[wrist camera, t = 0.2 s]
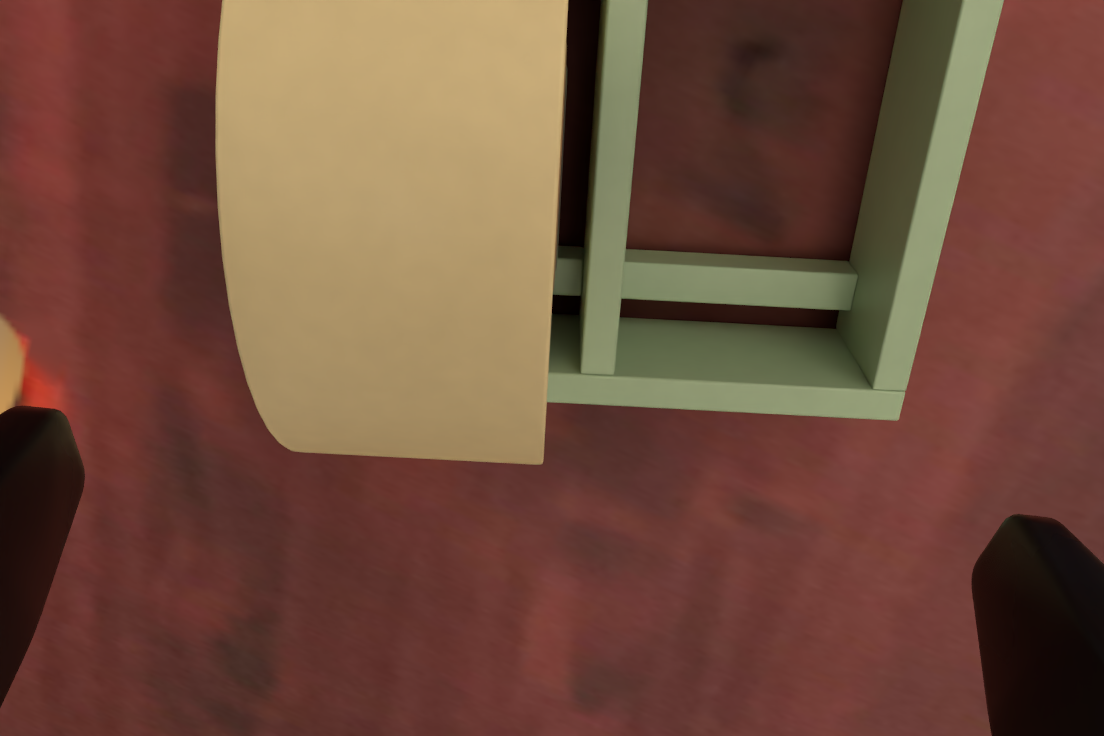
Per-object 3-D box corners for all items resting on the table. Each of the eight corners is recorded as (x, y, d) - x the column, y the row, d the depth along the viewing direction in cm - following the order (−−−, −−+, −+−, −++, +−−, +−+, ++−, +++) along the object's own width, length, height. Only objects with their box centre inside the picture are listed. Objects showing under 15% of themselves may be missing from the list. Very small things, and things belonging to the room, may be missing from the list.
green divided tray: (859, 356, 25) (899, 421, 22) (324, 327, 25) (289, 389, 22) (973, -163, 20) (1048, -172, 17) (289, -202, 20) (236, -219, 17)
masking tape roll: (552, 319, 25) (540, 596, 15) (378, 310, 25) (254, 581, 15) (578, -153, 20) (585, -192, 10) (361, -165, 20) (159, -217, 10)
